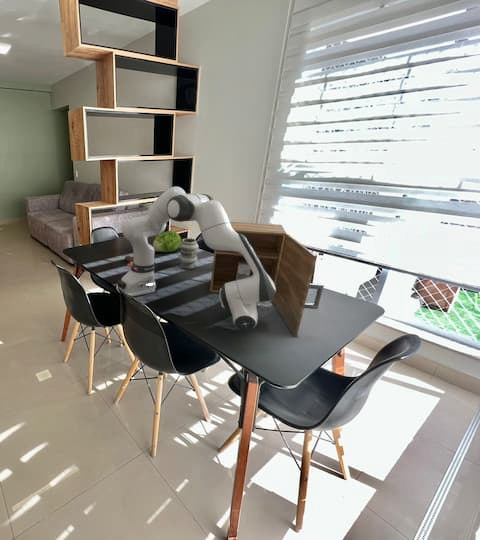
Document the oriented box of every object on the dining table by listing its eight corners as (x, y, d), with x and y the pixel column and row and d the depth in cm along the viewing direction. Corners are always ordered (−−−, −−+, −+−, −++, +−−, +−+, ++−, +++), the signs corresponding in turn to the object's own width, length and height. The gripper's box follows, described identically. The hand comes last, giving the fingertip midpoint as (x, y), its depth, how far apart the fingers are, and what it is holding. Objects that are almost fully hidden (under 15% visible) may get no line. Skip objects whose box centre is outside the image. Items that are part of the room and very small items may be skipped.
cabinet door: (287, 301, 140) (302, 234, 127) (313, 337, 113) (335, 256, 100) (272, 300, 141) (285, 234, 128) (294, 336, 114) (314, 255, 101)
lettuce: (149, 253, 220) (146, 236, 211) (170, 241, 226) (168, 224, 217) (162, 262, 209) (159, 245, 199) (184, 249, 215) (182, 232, 205)
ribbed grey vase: (176, 268, 183) (177, 241, 176) (179, 262, 193) (181, 236, 186) (195, 271, 178) (197, 243, 172) (198, 264, 189) (200, 238, 182)
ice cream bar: (138, 261, 187) (130, 254, 200) (130, 262, 186) (123, 255, 199) (137, 266, 188) (130, 258, 202) (130, 267, 187) (123, 259, 200)
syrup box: (246, 287, 154) (250, 261, 149) (246, 291, 149) (251, 265, 143) (234, 285, 156) (238, 260, 150) (235, 290, 151) (238, 264, 145)
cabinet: (272, 300, 142) (286, 233, 129) (209, 291, 152) (216, 228, 139) (269, 285, 157) (281, 224, 145) (212, 278, 167) (219, 221, 155)
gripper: (274, 300, 112) (271, 286, 124) (219, 293, 119) (221, 280, 130) (271, 314, 114) (268, 299, 126) (217, 306, 121) (219, 292, 133)
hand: (243, 289), depth 128 cm, fingers open, 8 cm apart
